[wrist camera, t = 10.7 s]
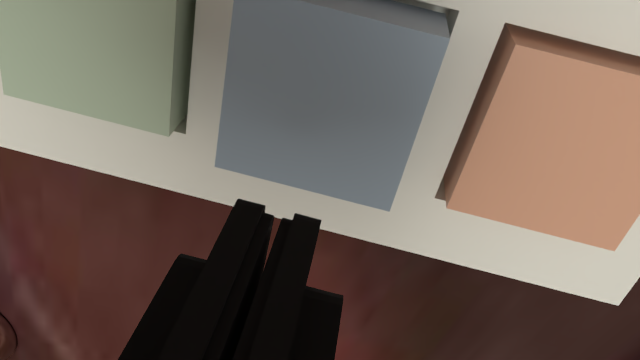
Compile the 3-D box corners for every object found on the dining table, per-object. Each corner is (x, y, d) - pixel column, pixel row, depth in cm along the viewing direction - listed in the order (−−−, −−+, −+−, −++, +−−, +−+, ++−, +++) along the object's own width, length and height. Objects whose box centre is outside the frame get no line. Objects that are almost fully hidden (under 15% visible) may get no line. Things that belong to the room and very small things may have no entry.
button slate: (257, -34, 17) (235, -16, 15) (445, 13, 17) (450, 39, 15) (235, 132, 20) (214, 166, 18) (392, 172, 20) (389, 211, 18)
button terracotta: (503, 19, 17) (516, 44, 15) (683, 65, 17) (720, 96, 15) (443, 171, 21) (446, 208, 19) (594, 209, 21) (614, 251, 19)
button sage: (30, -100, 18) (-22, -92, 16) (206, -56, 18) (178, -42, 16) (44, 69, 21) (3, 94, 19) (193, 107, 21) (169, 136, 19)
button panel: (7, -219, 18) (-85, -233, 15) (763, -30, 18) (844, 0, 14) (38, 99, 25) (-22, 140, 21) (590, 241, 24) (618, 305, 21)
